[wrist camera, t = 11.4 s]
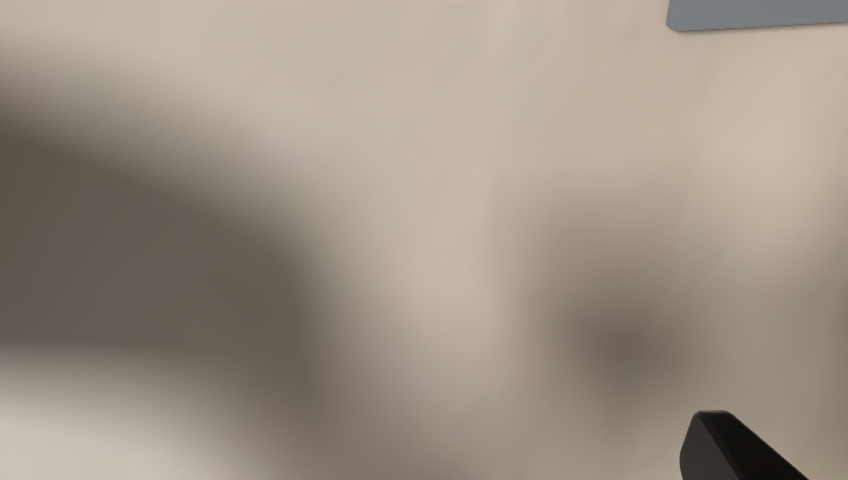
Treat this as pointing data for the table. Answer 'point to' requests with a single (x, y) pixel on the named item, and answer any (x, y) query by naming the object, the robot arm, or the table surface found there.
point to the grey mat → (752, 13)
